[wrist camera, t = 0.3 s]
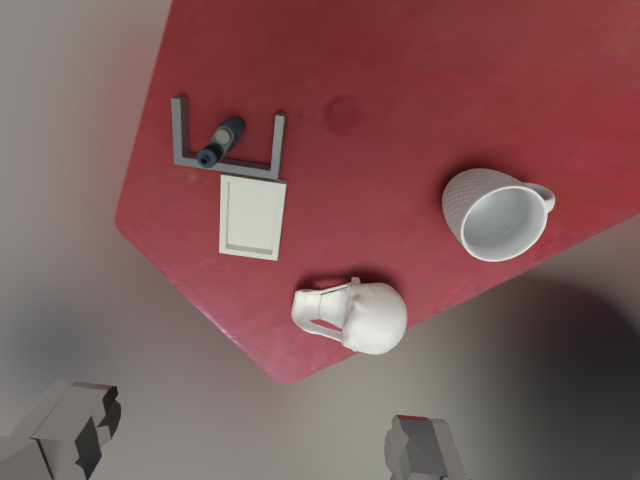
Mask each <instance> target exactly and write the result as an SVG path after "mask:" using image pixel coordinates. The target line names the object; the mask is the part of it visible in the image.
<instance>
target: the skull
mask: <svg viewBox="0 0 640 480" xmlns="http://www.w3.org/2000/svg"><path fill="white" fill-rule="evenodd" d="M351 279H352V281H351V282H349V283H346V284H342V285H339V286H336V287H332V288H327V289H324V290H312V289H302V290H298V291H296V292H295V297H294V302H293V306H292V313H291V316H292V319H293V321H294V322H295V323H296V324H297V325H298V326H299V327H300V328H301V329H303V330H304V331H306V332H309V333H312V334H320V335H323V336H326V337H330V338H332V339H335V340H337V341H340V342H341V343H342V344H343V345H344V346H345V347H347V348H351V350H353V351H354V352H356V351H360V352H364V353H367V354H382V353H385V352H387V351H389V350H390V349H392V348H393V347H394V346H395V345H396V344H397V343H398V342H399V341H400V340H401V338H402V337H403V334H404V332H405V330H406V326H407V310H406V305H405V302H404V300H403V299H402V297H401V296H400V295H399V294H398V292H397V291H396V290H395V289H394V288H393V287H391V286H390V285H388V284H385V283H363V284H361V282H360V280H359V278H358V277H352V278H351ZM336 289H339V290H337V291H334V292H330V291H333V290H336ZM327 292H330V293H327ZM323 293H326V294H323ZM320 294H323V295H320ZM319 305H320V308H319ZM319 314H320V316H319ZM319 318H320V319H322V320H325V321H327V322H330V323H332V324H334V325H335V326H336V327H339V328H341V329H342V332H340V331H336V330H333V329H328V328H325V327H323V326H320V325H317V324H314V323H312V322H310V320H314V319H319Z"/></svg>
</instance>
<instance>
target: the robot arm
mask: <svg viewBox="0 0 640 480" xmlns="http://www.w3.org/2000/svg"><path fill="white" fill-rule="evenodd" d="M117 396H118V390H117V386H110V385H102V384H93V383H85V382H77V381H67V380H57V381H56V382H55V383H53V384H52V385H51V386H50V387H49V388H48V389H47V390H46V392H45V393H44V394H43V395H42V396H41V398H40V399H39V400H38V401H37V402H36V404H35V405H34V406H33V407H32V408H31V410H30V411H29V412H28V413H27V414H26V415H25V417H24V418H23V419H22V420H21V421H20V423H19V424H18V425H17V426H16V427H15V429H14V430H13V431H12V432H11V434H10V435H9V436H8V437H5V436H1V437H0V480H89V478H90V477H91V474H92V473H93V471H94V469H95V468H96V466H97V464H98V462H99V460H100V459H101V457H102V453H101V447H102V446H103V445H104V444H106V443H107V442H109V441H110V440H111V439H112V437H113V435H114V433H115V431H116V430H117V427H118V424H119V421H120V418H121V405H120V403H118V402H117V401H116V400H115V399H116V397H117ZM392 427H393V428H392V429H390V430H389V431H388V432H387V435H386V438H385V446H384V450H385V460H386V466H387V467H388V468H389V470H390V471H391V472H392V476H391V478H390V480H472V479H468V478H467V476H466V473H465V470H464V467H463V464H462V462H461V459H460V456H459V453H458V450H457V448H456V445H455V442H454V439H453V436H452V434H451V431H450V428H449V426H448V423H447V422H446V421H445V420H443V419H433V418H427V417H416V416H405V415H395V416H394V417H393V419H392Z"/></svg>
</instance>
